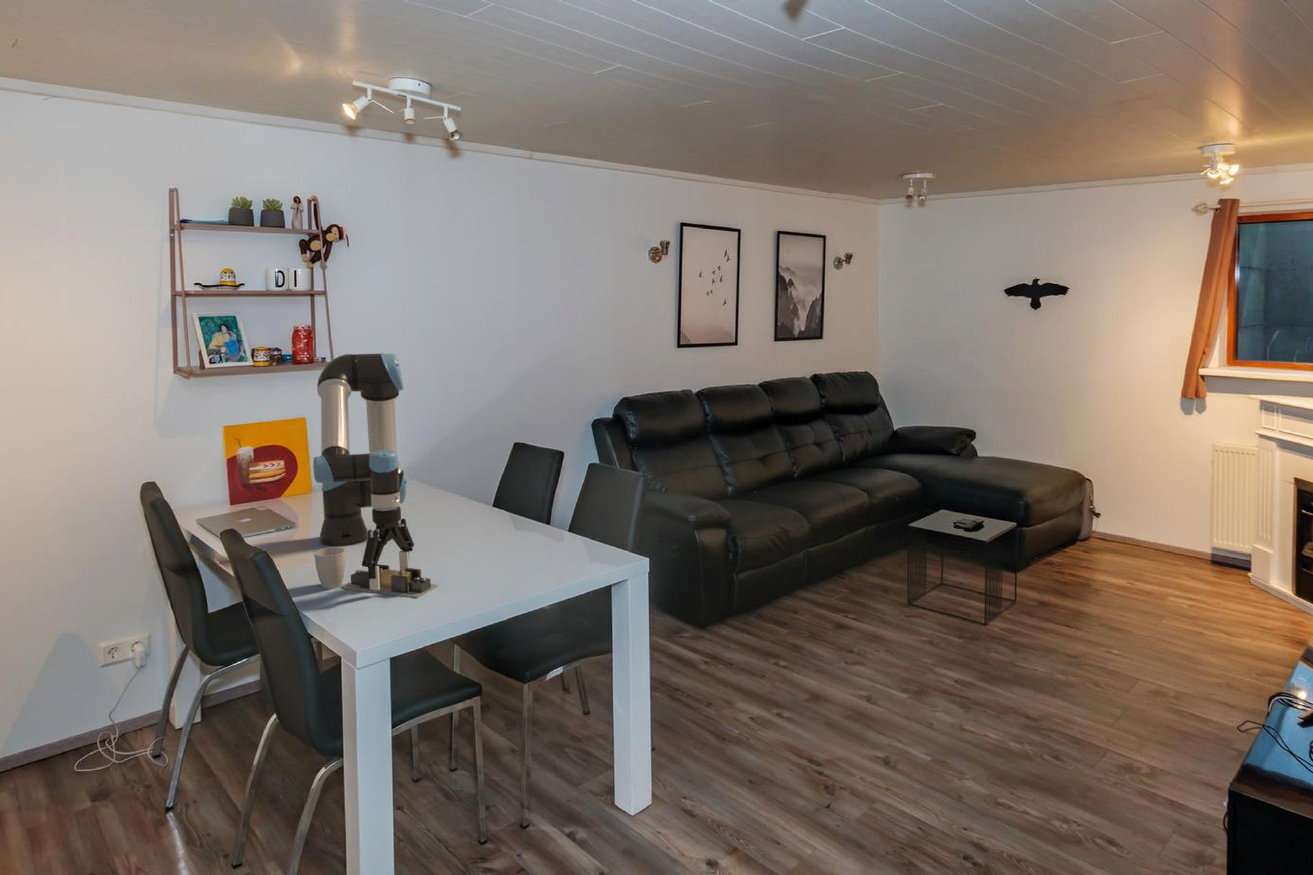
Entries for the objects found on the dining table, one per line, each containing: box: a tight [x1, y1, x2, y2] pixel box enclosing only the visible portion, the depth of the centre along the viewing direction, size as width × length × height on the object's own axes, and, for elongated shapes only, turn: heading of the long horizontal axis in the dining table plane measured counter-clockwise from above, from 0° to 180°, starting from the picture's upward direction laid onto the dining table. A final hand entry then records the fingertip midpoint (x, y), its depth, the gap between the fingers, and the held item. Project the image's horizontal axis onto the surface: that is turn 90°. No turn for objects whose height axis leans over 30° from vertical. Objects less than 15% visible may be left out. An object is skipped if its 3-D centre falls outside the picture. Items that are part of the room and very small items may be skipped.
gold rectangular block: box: [379, 568, 412, 589], centre depth 231 cm, size 11×4×5 cm, turn 72°
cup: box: [313, 546, 346, 590], centre depth 232 cm, size 8×8×10 cm
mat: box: [342, 582, 439, 599], centre depth 231 cm, size 24×10×1 cm, turn 72°
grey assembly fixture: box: [350, 563, 432, 593], centre depth 231 cm, size 23×8×4 cm, turn 72°
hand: (390, 581), depth 231 cm, fingers open, 13 cm apart
